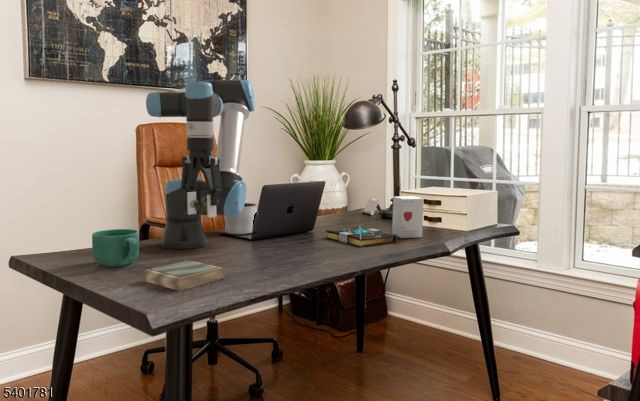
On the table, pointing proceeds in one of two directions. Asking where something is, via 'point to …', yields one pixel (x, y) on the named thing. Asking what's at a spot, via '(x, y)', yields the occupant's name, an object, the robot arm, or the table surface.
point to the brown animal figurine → (201, 204)
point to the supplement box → (407, 216)
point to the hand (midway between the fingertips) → (201, 215)
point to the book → (361, 236)
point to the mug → (115, 247)
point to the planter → (241, 220)
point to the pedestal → (184, 275)
